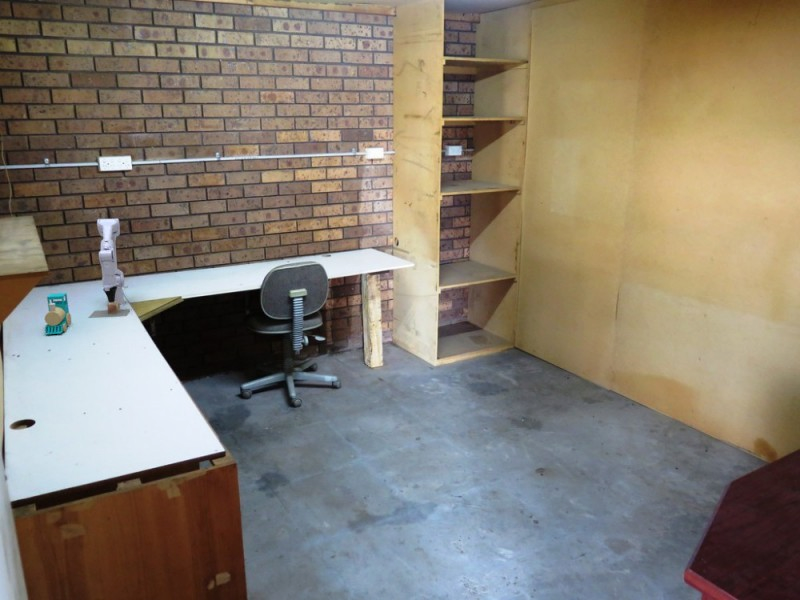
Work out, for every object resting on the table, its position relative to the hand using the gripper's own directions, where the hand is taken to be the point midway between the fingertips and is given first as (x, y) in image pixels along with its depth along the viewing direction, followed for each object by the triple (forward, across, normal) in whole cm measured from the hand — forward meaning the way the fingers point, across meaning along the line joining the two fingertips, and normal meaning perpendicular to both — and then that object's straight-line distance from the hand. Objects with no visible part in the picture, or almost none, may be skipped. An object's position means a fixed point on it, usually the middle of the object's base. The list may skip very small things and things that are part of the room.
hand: (111, 302), depth 299 cm
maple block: (+3, -1, 0) cm, 3 cm away
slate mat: (+6, -1, +1) cm, 6 cm away
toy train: (+6, -24, +18) cm, 30 cm away
